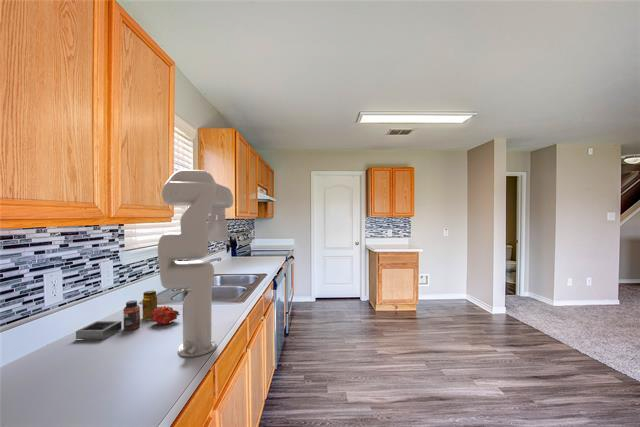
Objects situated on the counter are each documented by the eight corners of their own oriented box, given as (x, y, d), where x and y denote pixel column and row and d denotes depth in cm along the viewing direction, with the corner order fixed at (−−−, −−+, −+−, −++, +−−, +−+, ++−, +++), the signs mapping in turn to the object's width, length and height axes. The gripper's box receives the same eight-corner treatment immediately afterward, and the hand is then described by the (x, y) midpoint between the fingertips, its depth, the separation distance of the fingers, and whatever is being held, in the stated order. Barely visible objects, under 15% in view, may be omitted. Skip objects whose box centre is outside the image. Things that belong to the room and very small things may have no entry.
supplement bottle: (140, 324, 129) (140, 298, 129) (139, 329, 123) (139, 302, 123) (124, 326, 126) (124, 300, 126) (122, 331, 121) (122, 304, 121)
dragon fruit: (148, 328, 129) (177, 329, 132) (145, 322, 122) (176, 323, 125) (153, 308, 134) (182, 310, 137) (151, 302, 127) (180, 304, 130)
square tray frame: (103, 340, 112) (103, 331, 112) (75, 340, 112) (75, 331, 112) (121, 329, 123) (121, 321, 123) (96, 329, 123) (96, 321, 123)
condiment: (138, 318, 136) (138, 292, 136) (154, 312, 144) (154, 288, 144) (149, 320, 133) (149, 294, 133) (165, 314, 141) (165, 290, 141)
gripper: (197, 218, 140) (197, 254, 140) (234, 218, 144) (235, 253, 144) (200, 218, 147) (200, 252, 147) (235, 218, 151) (235, 251, 151)
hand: (217, 252), depth 145 cm, fingers open, 9 cm apart
